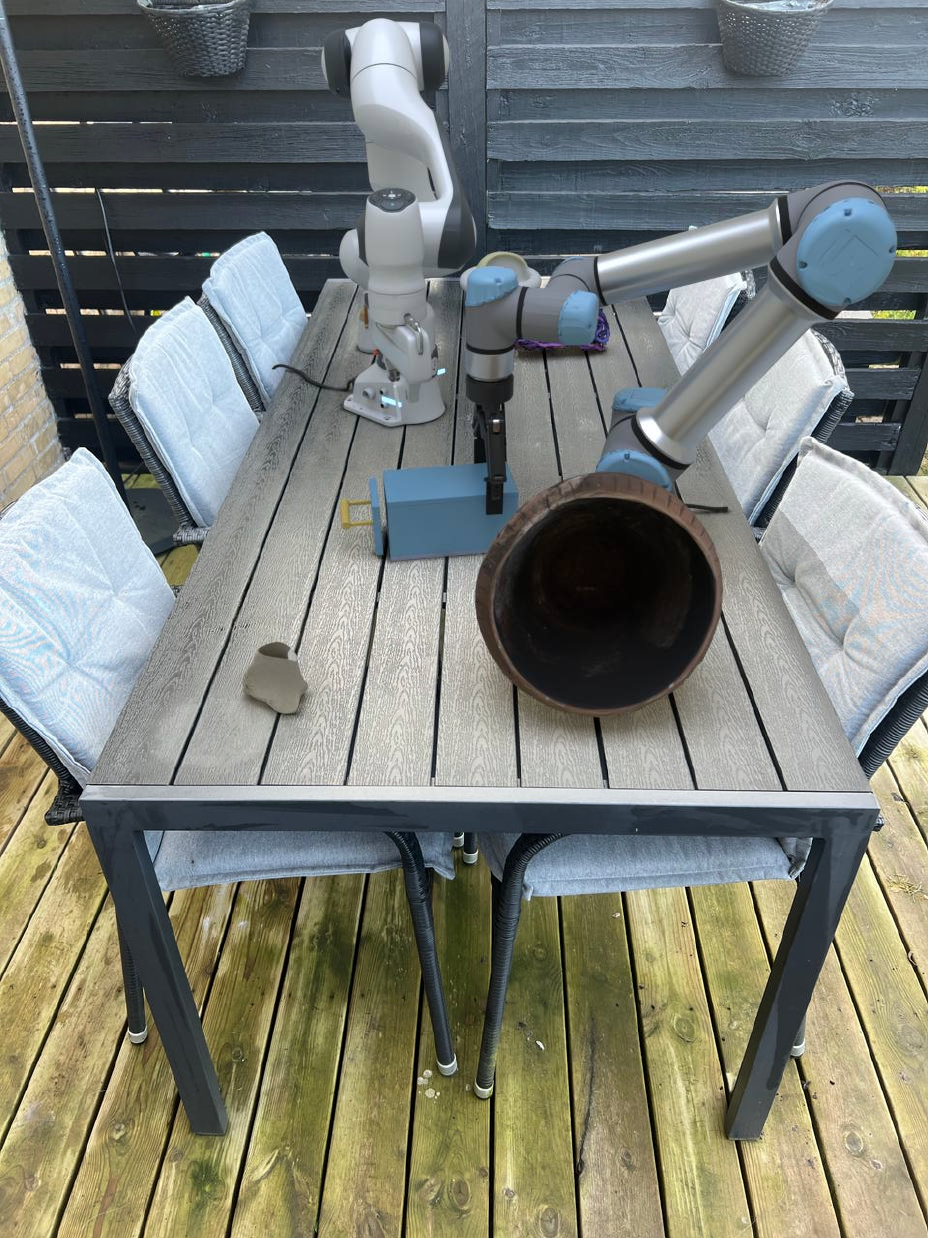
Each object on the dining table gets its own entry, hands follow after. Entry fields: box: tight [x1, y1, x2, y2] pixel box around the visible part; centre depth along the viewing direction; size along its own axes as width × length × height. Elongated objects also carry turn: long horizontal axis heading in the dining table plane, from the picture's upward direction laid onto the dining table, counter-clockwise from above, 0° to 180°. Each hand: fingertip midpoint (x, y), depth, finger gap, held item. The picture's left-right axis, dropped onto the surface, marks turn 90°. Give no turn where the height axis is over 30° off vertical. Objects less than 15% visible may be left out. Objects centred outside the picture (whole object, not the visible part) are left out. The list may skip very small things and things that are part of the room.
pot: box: [474, 471, 724, 718], centre depth 130 cm, size 32×32×30 cm
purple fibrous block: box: [514, 307, 611, 354], centre depth 226 cm, size 13×11×30 cm
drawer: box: [339, 477, 388, 556], centre depth 157 cm, size 25×10×9 cm, turn 98°
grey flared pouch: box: [241, 641, 309, 715], centre depth 126 cm, size 9×8×10 cm
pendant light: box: [356, 304, 377, 354], centre depth 223 cm, size 8×8×30 cm
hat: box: [459, 251, 543, 293], centre depth 248 cm, size 25×22×15 cm
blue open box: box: [382, 460, 519, 562], centre depth 158 cm, size 22×11×11 cm, turn 98°
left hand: (402, 390), depth 152 cm, fingers open, 8 cm apart
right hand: (487, 492), depth 157 cm, fingers open, 13 cm apart
